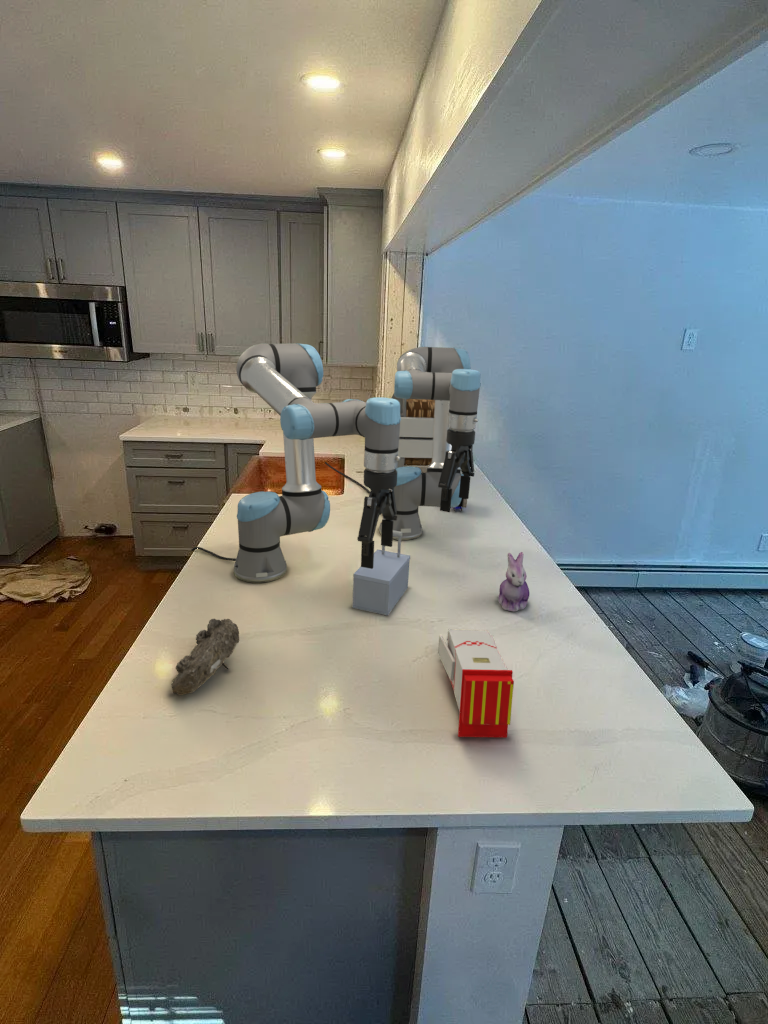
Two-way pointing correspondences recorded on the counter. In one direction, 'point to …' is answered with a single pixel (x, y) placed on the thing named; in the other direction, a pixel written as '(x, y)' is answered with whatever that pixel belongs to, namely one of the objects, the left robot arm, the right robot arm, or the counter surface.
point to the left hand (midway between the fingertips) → (377, 556)
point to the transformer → (415, 432)
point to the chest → (380, 593)
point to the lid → (384, 564)
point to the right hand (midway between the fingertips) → (454, 504)
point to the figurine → (514, 585)
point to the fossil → (206, 655)
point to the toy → (478, 682)
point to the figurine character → (461, 504)
